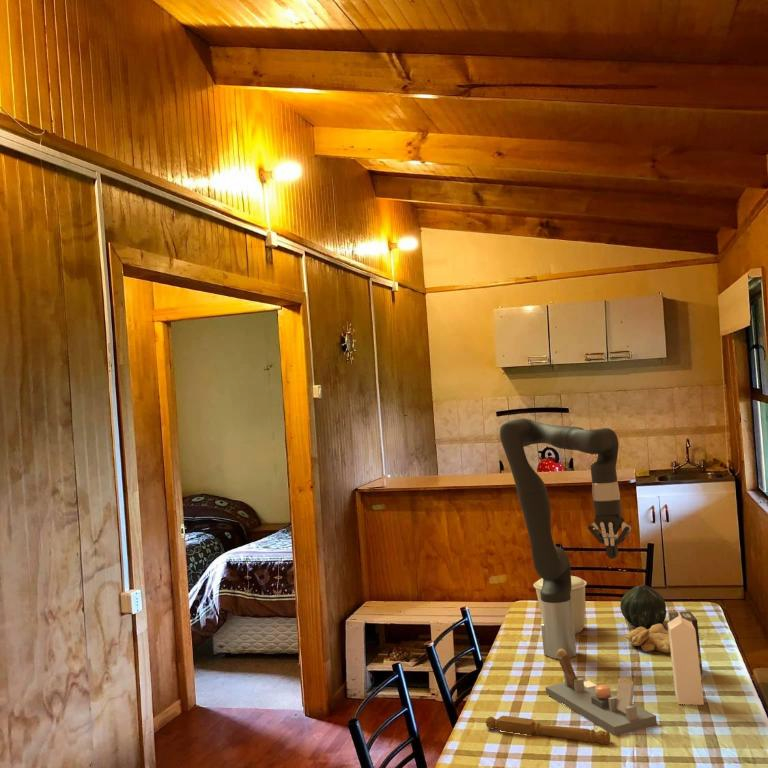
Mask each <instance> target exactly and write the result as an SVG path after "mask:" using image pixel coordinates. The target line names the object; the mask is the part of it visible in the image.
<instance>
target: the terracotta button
mask: <svg viewBox="0 0 768 768" xmlns="http://www.w3.org/2000/svg"><path fill="white" fill-rule="evenodd" d="M596 685H597V684H596ZM595 690H596V696H597V697H599V698H609V697H610V696H611V693H612V692H611V686H610V685H607V684H598V685H597V686H596V687H595Z"/></svg>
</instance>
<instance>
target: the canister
mask: <svg viewBox="0 0 768 768" xmlns="http://www.w3.org/2000/svg"><path fill="white" fill-rule="evenodd" d="M542 586H543V578H541V577H540V579H538V580H537V581H535V582H534V583H533V587H534V589H535V591H536V596H537V601H538V602H537V603H538V606H539V610H540V615H541V619H542V621H543V613H542V604H541V589H542ZM586 586H587V581H586V580H584V579H583V578H581V577H579V576H576V575H575V576H574V575H571V593H570V594H571V605H572V614H573V624H574V633H575V635H576V634H579V633H580V632H582V631H583V629H584V627H585V623H586V621H585V620H586V618H585V617H586Z"/></svg>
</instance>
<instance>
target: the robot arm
mask: <svg viewBox="0 0 768 768" xmlns="http://www.w3.org/2000/svg"><path fill="white" fill-rule="evenodd" d="M499 437H500V441H501V445H502V448H503V450H504V453H505V456H506V458H507V462H508V465H509V466H510V471H511V474H512V477H513V480H514V483H515V484H514V485H515V488H516V492H517V496H518V501H519V503H520V509H521V512H522V515H523V519H524V522H525V527H526V531H527V533H528V537H529V542H530V543H529V544H530V548H531V549H530V550H531V554H532V562H533V567H534V569H535V572H536V573H537V575H538V576H539V577H540V579H541V578H543V586H542V589H541V604H542V613H543V620H542V623H541V624H540V626H541V627H540V630H541V636H542V637H541V638H542V646H543V647H542V649H543V655H544V656H547V657H548V656H549V657H548V658H551V659H557V660H558V657H557V651H558V650H559V649H564V650H565V651H566V653H567V655H568V658H569V659H571V658H572V659H573V658H574V657H576V656H577V643H576V634H575V633H574V624H573V614H572V605H571V594H570V593H571V576H572V571H571V562H570V561H571V560H570V558H569V556H568V554H567V552H566V551H565V550H564V549H563V548H561V547H560V546H556V545H555V544H554V540H553V539H554V538H553V536H552V535H553V534H552V527H551V526H552V525H551V524H552V523H551V522H552V521H551V520H552V511H551V509H552V508H551V507H552V506H551V501H550V497H549V494H548V490H547V486H546V484H545V483H544V481H543V479H542V478H541V476H540V475H539V474H538V473H537V472H536V471H535V470H534V469H533V467H532V466H531V464H530V463H529V461H528V458H527V456H526V451H525V449H524V447H530V445H536V444H537V445H538V444H547V445H550V446H552V447H554V448H556V449H560V450H570V451H578V452H582V453H584V454H589V455H597V460H596V461H595V462H593V463H592V464H591V465H590V473H591V485H592V487H591V492H592V503H593V512H594V520H593V521H594V522H592V523H591V525H587V529H588V530H589V532H590V533H591V534H592V536H593V537H594V538H595V539H596V540H597V542H598V543H599V544H603V545H604V546H605V550H606V556H607V557H608V559H609V560H610V559H611V560H615V559H617V557H618V555H619V551H618V545H620V544H621V543H623V542H624V541H625V540H626V538H627V537H628V535H629V534H630V532H631V531H632V529H633V526H632V525H630V524H629V525H628V524H627V523H626V522H625V519H624V517H623V516H622V512H623V511H622V503H621V492H620V487H619V482H618V475H617V462H618V454H619V445H620V444H619V439H618V435H617V434H616V432H615V431H614V430H613V429H611V428H607V427H603V428H595V429H584V428H582V427H578V426H568V425H555V424H547V423H542V422H538V421H536V420H532V419H528V418H517V419H516V418H515V419H511V420H507V421H505V422H503V423H502V424H501V426H500V428H499ZM620 530H621V533H620V534H619V531H620Z"/></svg>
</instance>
